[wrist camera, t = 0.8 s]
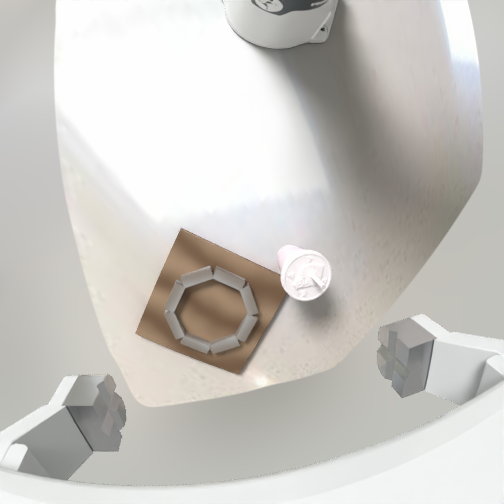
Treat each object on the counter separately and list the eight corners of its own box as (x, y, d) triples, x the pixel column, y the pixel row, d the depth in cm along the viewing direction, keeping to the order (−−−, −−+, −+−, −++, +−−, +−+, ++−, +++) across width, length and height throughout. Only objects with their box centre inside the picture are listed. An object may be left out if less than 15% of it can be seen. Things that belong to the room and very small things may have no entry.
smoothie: (317, 260, 48) (355, 293, 35) (283, 285, 48) (310, 327, 35) (294, 227, 46) (328, 249, 33) (259, 253, 47) (279, 286, 33)
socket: (181, 227, 44) (179, 231, 42) (290, 279, 48) (295, 285, 46) (136, 330, 47) (133, 338, 44) (237, 370, 51) (239, 379, 48)
